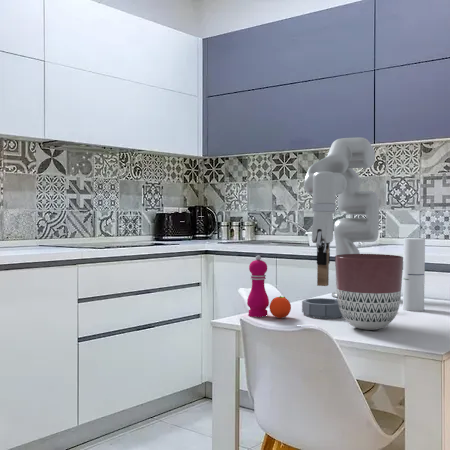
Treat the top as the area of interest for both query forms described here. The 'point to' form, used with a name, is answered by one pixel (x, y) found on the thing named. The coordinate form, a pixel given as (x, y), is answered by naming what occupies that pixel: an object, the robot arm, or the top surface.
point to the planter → (368, 288)
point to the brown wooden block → (323, 272)
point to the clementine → (280, 307)
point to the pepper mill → (258, 289)
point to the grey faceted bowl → (321, 308)
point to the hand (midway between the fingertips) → (323, 263)
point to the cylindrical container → (413, 274)
